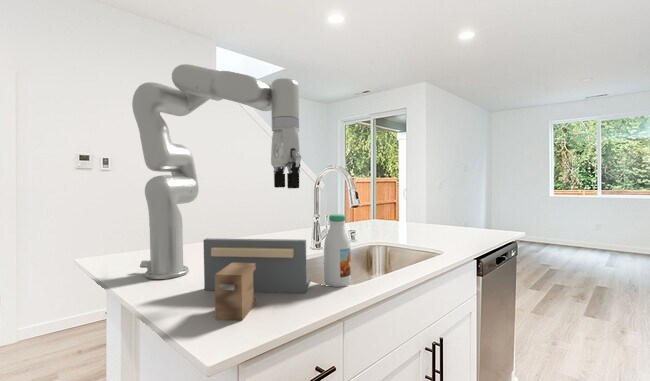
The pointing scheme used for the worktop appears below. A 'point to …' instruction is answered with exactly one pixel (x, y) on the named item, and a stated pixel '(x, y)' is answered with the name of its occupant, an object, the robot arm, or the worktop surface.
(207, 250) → the wall board
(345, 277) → the milk bottle
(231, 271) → the cabinet
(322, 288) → the worktop surface
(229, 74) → the robot arm
